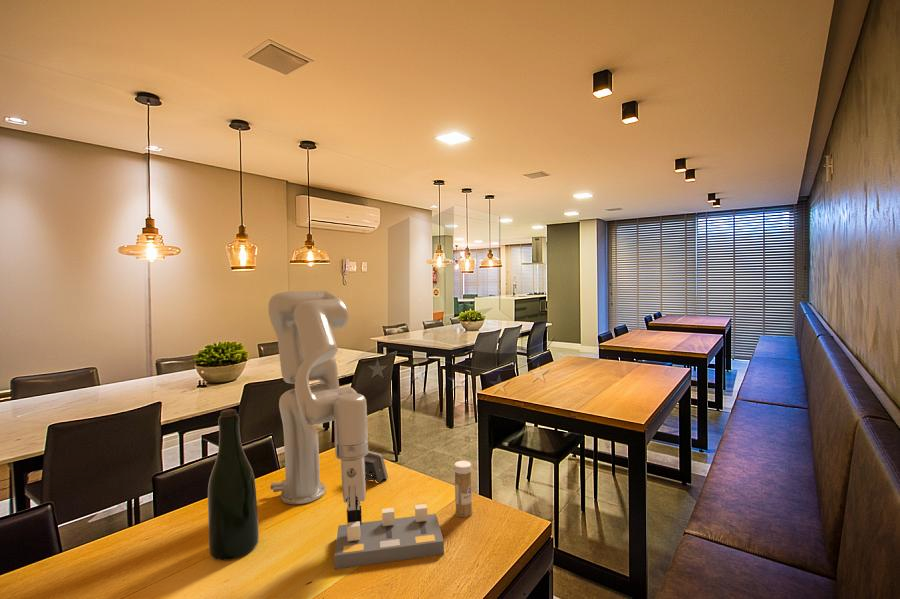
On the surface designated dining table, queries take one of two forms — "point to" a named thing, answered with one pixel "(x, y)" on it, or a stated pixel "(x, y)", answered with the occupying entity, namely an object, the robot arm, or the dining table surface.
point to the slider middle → (388, 516)
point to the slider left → (353, 531)
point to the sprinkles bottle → (463, 488)
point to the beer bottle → (231, 495)
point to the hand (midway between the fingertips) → (354, 524)
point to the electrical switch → (375, 467)
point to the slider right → (421, 512)
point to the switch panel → (389, 542)
